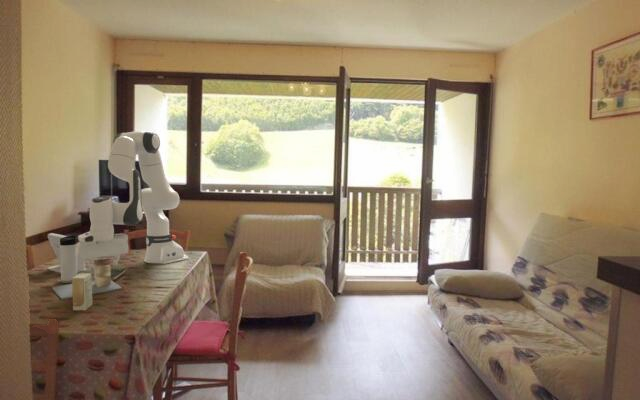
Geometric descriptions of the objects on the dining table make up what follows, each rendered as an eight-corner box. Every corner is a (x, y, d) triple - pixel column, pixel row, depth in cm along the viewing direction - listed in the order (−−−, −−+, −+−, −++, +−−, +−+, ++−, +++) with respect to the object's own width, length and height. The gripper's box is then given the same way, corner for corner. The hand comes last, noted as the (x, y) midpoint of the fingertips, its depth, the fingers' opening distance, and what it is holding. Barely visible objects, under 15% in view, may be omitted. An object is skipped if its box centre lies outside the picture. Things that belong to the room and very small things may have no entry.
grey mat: (108, 279, 189) (108, 277, 189) (121, 289, 176) (121, 287, 176) (51, 288, 174) (51, 286, 174) (61, 299, 161) (61, 298, 161)
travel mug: (81, 280, 186) (80, 236, 184) (68, 284, 180) (67, 238, 178) (71, 278, 188) (69, 234, 187) (57, 282, 182) (56, 237, 180)
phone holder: (87, 270, 202) (87, 233, 201) (66, 275, 194) (65, 236, 192) (67, 265, 211) (66, 229, 209) (46, 269, 202) (44, 232, 200)
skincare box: (80, 304, 156) (80, 272, 155) (92, 304, 157) (92, 272, 155) (72, 310, 150) (71, 277, 149) (84, 310, 150) (83, 277, 149)
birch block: (107, 282, 182) (106, 257, 181) (110, 285, 179) (110, 259, 178) (94, 284, 179) (94, 259, 178) (98, 287, 175) (97, 261, 174)
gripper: (125, 231, 186) (126, 261, 188) (73, 236, 172) (75, 269, 174) (130, 233, 182) (131, 264, 183) (77, 239, 168) (78, 272, 169)
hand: (103, 266), depth 178 cm, fingers open, 8 cm apart
